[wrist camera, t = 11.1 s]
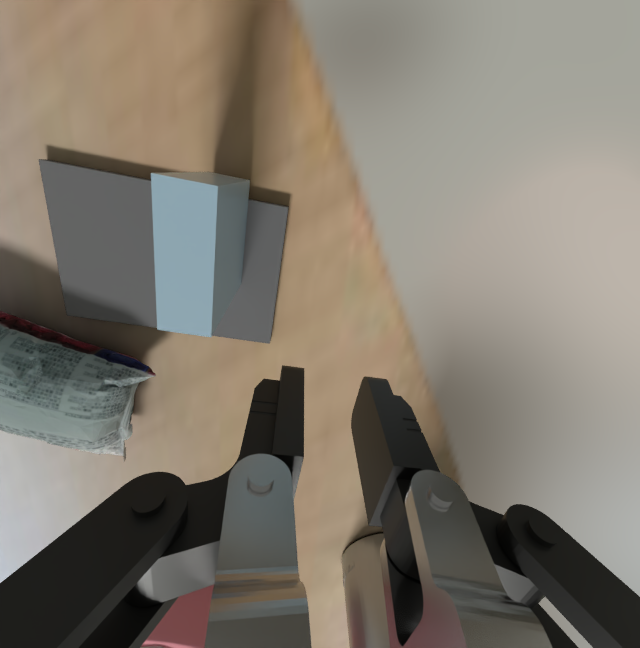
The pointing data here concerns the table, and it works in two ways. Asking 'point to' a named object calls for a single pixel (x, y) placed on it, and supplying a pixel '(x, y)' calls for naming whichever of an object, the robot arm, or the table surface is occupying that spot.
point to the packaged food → (65, 388)
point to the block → (197, 247)
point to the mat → (146, 251)
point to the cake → (183, 622)
